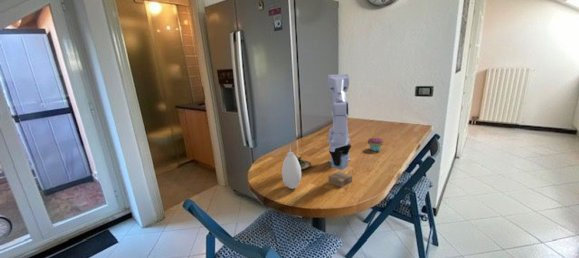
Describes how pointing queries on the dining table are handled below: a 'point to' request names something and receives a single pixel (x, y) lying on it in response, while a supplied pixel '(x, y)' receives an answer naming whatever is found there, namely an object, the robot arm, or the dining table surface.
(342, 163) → the blue cube
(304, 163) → the salad bowl
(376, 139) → the cupcake
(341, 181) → the walnut block
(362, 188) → the dining table surface
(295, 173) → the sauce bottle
